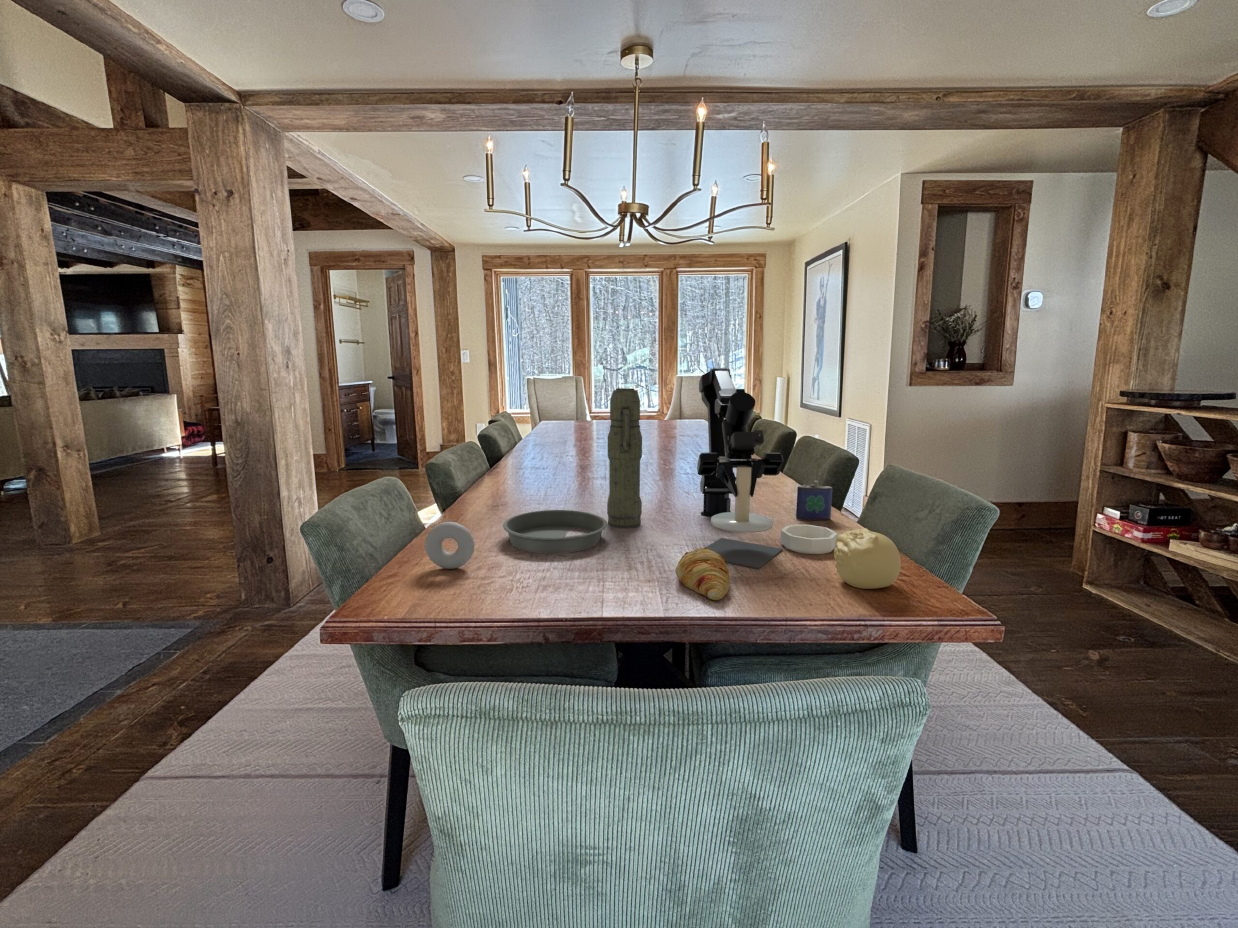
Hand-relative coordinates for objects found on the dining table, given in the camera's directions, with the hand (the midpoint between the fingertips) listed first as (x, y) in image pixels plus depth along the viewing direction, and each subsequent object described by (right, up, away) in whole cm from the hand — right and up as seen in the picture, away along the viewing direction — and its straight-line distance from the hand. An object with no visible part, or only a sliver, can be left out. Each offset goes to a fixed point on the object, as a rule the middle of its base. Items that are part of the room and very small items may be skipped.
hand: (744, 495), depth 135 cm
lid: (0, -6, +3) cm, 7 cm away
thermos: (-26, -9, +26) cm, 38 cm away
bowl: (+16, -12, +7) cm, 22 cm away
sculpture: (+20, -16, -15) cm, 30 cm away
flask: (+25, -8, +31) cm, 41 cm away
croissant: (-11, -17, -15) cm, 25 cm away
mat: (-1, -13, +2) cm, 13 cm away
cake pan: (-43, -11, +12) cm, 46 cm away
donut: (-62, -15, -8) cm, 64 cm away
